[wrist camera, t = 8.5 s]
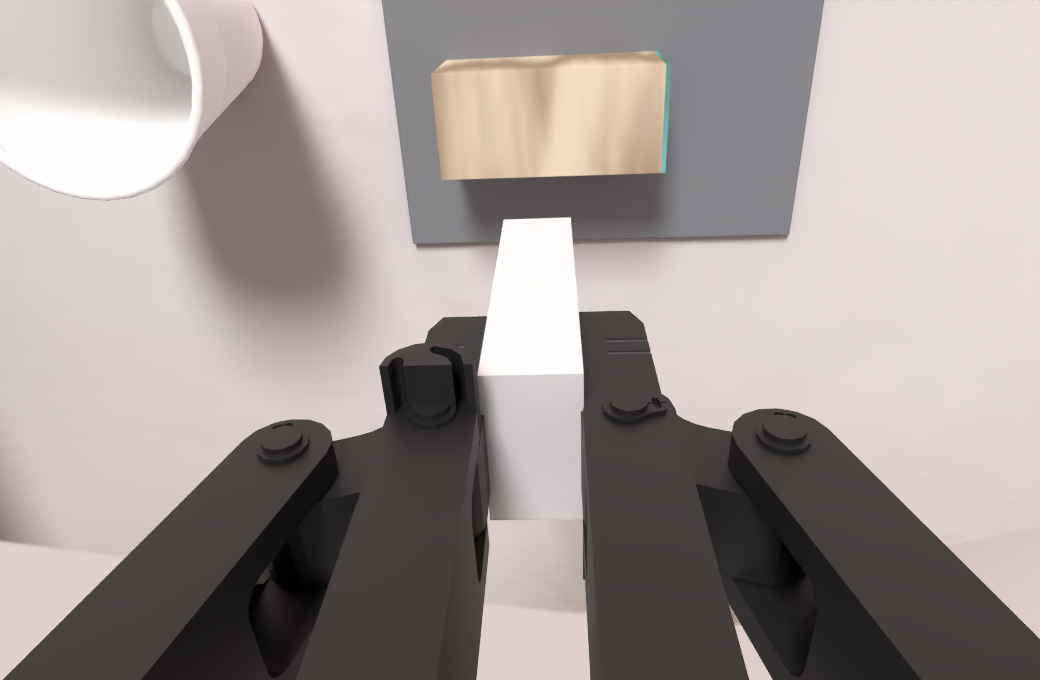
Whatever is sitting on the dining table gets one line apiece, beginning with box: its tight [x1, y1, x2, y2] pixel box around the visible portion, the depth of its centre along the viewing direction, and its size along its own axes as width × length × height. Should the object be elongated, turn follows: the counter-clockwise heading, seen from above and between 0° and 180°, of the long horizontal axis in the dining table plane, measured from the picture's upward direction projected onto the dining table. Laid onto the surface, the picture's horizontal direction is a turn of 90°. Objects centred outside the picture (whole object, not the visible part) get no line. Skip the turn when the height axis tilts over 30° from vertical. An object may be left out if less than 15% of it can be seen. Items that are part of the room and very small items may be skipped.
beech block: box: [431, 51, 671, 180], centre depth 32 cm, size 4×4×10 cm
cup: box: [0, 0, 263, 201], centre depth 29 cm, size 10×10×11 cm
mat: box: [382, 0, 824, 244], centre depth 33 cm, size 20×18×1 cm
